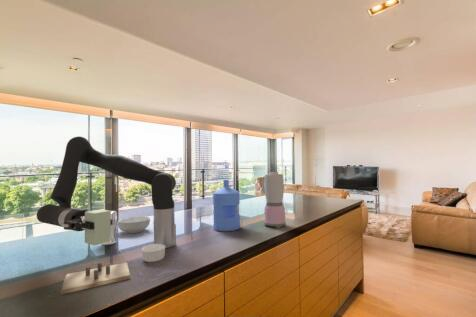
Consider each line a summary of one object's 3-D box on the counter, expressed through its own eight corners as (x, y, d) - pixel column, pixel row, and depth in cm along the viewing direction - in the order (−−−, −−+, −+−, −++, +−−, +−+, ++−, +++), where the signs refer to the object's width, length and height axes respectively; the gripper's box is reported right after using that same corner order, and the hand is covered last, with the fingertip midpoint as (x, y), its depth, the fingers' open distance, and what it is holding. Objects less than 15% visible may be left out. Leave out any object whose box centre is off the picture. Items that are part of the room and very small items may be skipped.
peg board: (126, 265, 87) (126, 255, 87) (129, 278, 76) (129, 266, 76) (66, 277, 78) (66, 266, 78) (61, 294, 67) (61, 281, 67)
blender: (290, 225, 139) (288, 171, 140) (277, 229, 131) (275, 172, 132) (269, 221, 151) (268, 171, 152) (256, 225, 143) (255, 172, 144)
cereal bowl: (156, 229, 136) (156, 217, 137) (129, 237, 122) (129, 223, 123) (138, 226, 145) (138, 215, 146) (111, 233, 131) (111, 220, 132)
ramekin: (165, 261, 90) (165, 249, 90) (140, 264, 88) (140, 252, 88) (165, 253, 99) (165, 242, 99) (143, 255, 96) (143, 245, 96)
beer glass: (110, 245, 109) (109, 213, 110) (97, 245, 111) (97, 213, 111) (120, 241, 116) (120, 210, 117) (108, 240, 118) (108, 210, 118)
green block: (84, 242, 77) (84, 211, 77) (100, 238, 81) (100, 209, 81) (94, 245, 74) (94, 213, 74) (110, 241, 78) (110, 210, 78)
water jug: (207, 229, 135) (206, 180, 136) (224, 223, 147) (223, 179, 148) (229, 233, 126) (228, 181, 127) (245, 226, 139) (244, 179, 140)
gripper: (51, 212, 79) (78, 216, 70) (95, 205, 91) (122, 208, 83) (51, 234, 78) (78, 242, 70) (95, 225, 91) (122, 230, 82)
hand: (102, 224), depth 76 cm, fingers closed on green block, 5 cm apart
